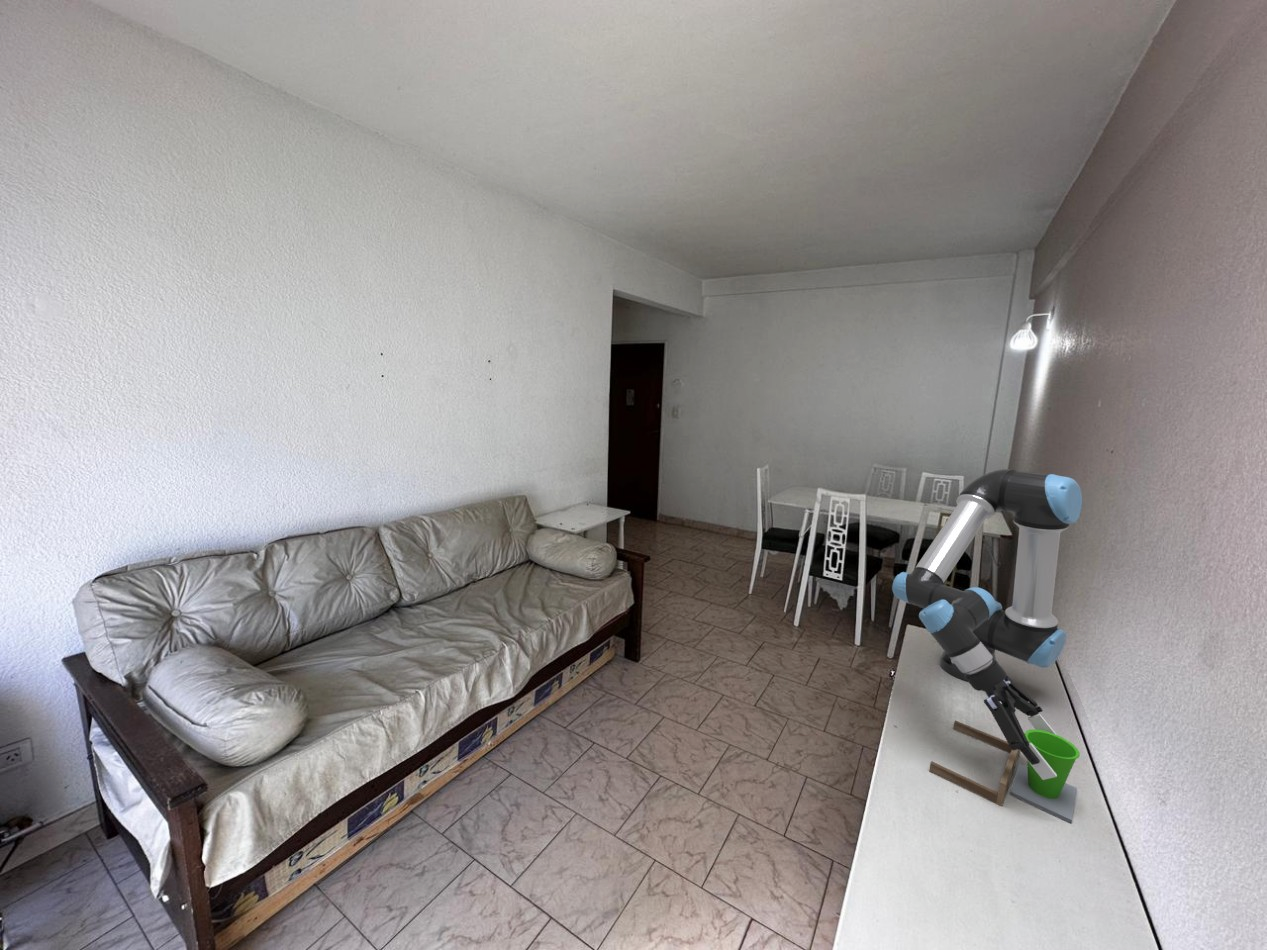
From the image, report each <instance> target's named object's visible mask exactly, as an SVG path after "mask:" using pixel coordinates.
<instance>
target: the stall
mask: <svg viewBox="0 0 1267 950" xmlns="http://www.w3.org/2000/svg"><path fill="white" fill-rule="evenodd" d="M952 728H953V730H954V731H956V732H959V733H961V734H963V735H966V736H968V737H970V736H971V738H973V739H976V740H978V741H980V742H983V743H985V744H987V745H990V746H992V747H994V748H996V749H999V750H1002V751H1004V752H1006V753H1009V756H1008V759H1007V761H1006V765H1005V767H1004V770H1003V773H1002V776H1001V778H1000V781H999V784H998V785H999V786H998V790H997V791H996V790H994V789H992V788H990V787H987V786H986V785H984V784H981V783H979V782H977V781H974V780H973V779H972V778H969V777H966V776H964V775H962V774H960V773H957V772H956V771H954V770H951V769H949V768H947V767H945V766H943V765H941V764H938V763H936V762H934V761H932V760H931V761H930V763H929V772H930V773H932V774H934V775H936V776H939V777H941V778H943V779H945V780H947V781H948V782H951V783H953V784H955V785H956V786H959V787H961V788H963V789H964V790H966V791H967V790H968V791H969V792H971V793H973V794H976V795H977V796H979V797H982V798H983V799H986V800H988V801H989V802H992V803H994V804H995V805H996V804H997V805H998V806H999V807H1000V806H1001V807H1003V806H1004V803H1005V799H1006V796H1007V794H1008V791H1009V788H1010V786H1011V782H1012V779H1013V776H1014V773H1015V770H1016V767H1017V766H1018V762H1019V759H1020V755H1021V752H1020V750H1019V749H1017V750H1012V749H1011V747H1010V745H1009V744H1008V742H1007V740H1004V739H1002V738H999V737H997V736H995V735H992V734H990V733H987V732H986V731H982V730H980V729H977V728H975V727H972V726H970V725H967V724H965V723H962V722H960V721H957V720H954V722H953V727H952ZM1017 742H1018V741H1017Z"/></svg>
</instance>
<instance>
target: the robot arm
mask: <svg viewBox="0 0 1267 950" xmlns="http://www.w3.org/2000/svg"><path fill="white" fill-rule="evenodd" d="M955 502H956V507H955V508H954V510H953V511H952V513H950V515H949V516H948V519H947V520H946V522H945V523H944V524H943V526H942V527H941V529H940V531H939V532H938V533H937V534H936V537H935V538H934V539H933V541H932V542H931V544H930V545H929V547H928V548H927V550H926V551H925V553H924V554H923V556H922V557H921V559H920V560H919V562H918V563H917V565H916V566H915V567H914V568H913V570H912V571H911V573H910V572H905V571H902V572H900V573H899V574H897V575H896V576H895V577H894V579H893V582H892V586H891V587H892V588H891V590H892V593H893V595H894V597H896V598H897V599H899V600H900V601H902V602H905V603H907V604H909V605H913V606H916V607H918V608H922V609H921V610H920V612H919V614H918V618H919V620H920V621H921V623H922V624H923V626H924V627H925V628H926V631H927V632H928V633H930V635H931V636H932V637H933V638H934V640H935V641H936V642H937V644H938V645H939V646H940V647H941V649H942V650H943V652H942V654H941V656H940V660H939V662H940V663H939V665H940V667H941V668H942V669H943V670H944V671H945V672H946V673H948V674H950V675H952V676H953V677H955V678H957V679H960V680H961V681H965V682H968V683H969V684H970V686H972V689H974V690H975V691H978V692H981V691H982V692H985V695H986V696H987V697H988V698H986V699H983V703H984V704H985V706H986V707H987V709H988V710H989V711H990V713H991V715H992V717H993V718H994V720H995V722H996V724H997V726H998V727H999V729H1000V731H1001V733H1002V734H1003V736H1004V738H1005V741H1007V742H1008V744H1009V745H1010V747H1011V749H1012V750H1017V749H1019V750H1020V754H1022V755H1023V756H1024V758H1025V759H1026V761H1027V760H1028V762H1029V763H1030V764H1031V766H1032V767H1033V768H1034V769H1035V771H1036V772H1037V773H1038V775H1039V776H1040V777H1041V778H1042V780H1045V779H1050V778H1054V777H1057V774H1056V773H1055V772H1054V771H1053V769H1052V768H1051V767H1050V766H1049V764H1048V763H1047V762H1046V760H1045V759H1044V758H1043V757H1042V755H1041V754H1040V753H1039V752H1038V750H1037V749H1036V748H1035V747H1034V745H1033V744H1032V743H1029V742H1028V740H1027V738H1026V736H1025V732H1024V731H1023V728H1022V726H1021V723H1020V722H1019V718H1018V717H1017V714H1016V709H1017V710H1018V711H1020V712H1021V713H1023V714H1024V715H1026V716H1028V717H1027V720H1028V722H1030V724H1031V725H1032V726H1033V728H1034V729H1035V730H1043V731H1047V732H1050V733H1053V734H1056V735H1058V734H1057V733H1056V731H1055V730H1054V729H1053V728H1052V726H1051V725H1050V723H1049V722H1047V720H1046V719H1045V718H1044V717H1043V715H1041V713H1042V712H1043V711H1044V710H1043V708H1042V707H1041V706H1040V705H1038V703H1037V702H1036V701H1035V700H1034V699H1033V698H1032V697H1030V696H1029V695H1028V694H1027V693H1026V692H1025V691H1024V690H1023V689H1021V688H1020V686H1018V685H1017V684H1016V683H1015V682H1014V681H1013V680H1012V679H1011V678H1010V677H1009V676H1008V675H1007V673H1006V671H1005V670H1004V669H1003V667H1002V666H1001V665H1000V664H999V662H998V661H997V659H996V658H997V657H996V651H998V652H1000V653H1003V654H1005V655H1008V656H1010V657H1013V658H1016V659H1018V660H1021V661H1023V662H1025V663H1027V664H1030V665H1034V666H1037V667H1039V668H1045V669H1046V668H1049V667H1051V666H1053V664H1054V663H1055V662H1056V661H1057V660H1058V658H1059V656H1060V655H1061V653H1062V651H1063V649H1064V647H1065V645H1066V642H1067V641H1066V640H1067V633H1066V632H1065V630H1063V629H1061V628H1058V625H1059V621H1058V618H1057V617H1056V616H1055V615H1054V614H1053V603H1054V596H1055V595H1054V593H1055V585H1056V576H1057V568H1058V567H1057V566H1058V558H1059V549H1060V538H1061V533H1062V532H1064V531H1066V530H1068V529H1069V527H1070V524H1074V523H1076V522H1077V521H1078V520H1079V518H1080V515H1081V511H1082V507H1083V494H1082V489H1081V487H1080V485H1079V483H1077V481H1076V480H1075V479H1073V478H1071V477H1070V476H1069V477H1068V476H1064V475H1063V476H1061V475H1057V474H1054V473H1044V472H1034V471H1033V472H1032V471H1024V470H1016V469H1010V468H1009V469H1007V468H1003V469H996V470H993V471H990V472H988V473H985V474H983V475H980V476H979V477H977V478H976V479H974V480H973V481H971V482H970V483H969V484H968V485H967V486H966V487H964V489H962V491H961V492H960V494H959V495H958V496H957V498H956V500H955ZM999 511H1002V512H1007V513H1012V514H1013V518H1012V519H1013V520H1012V522H1013V523H1014V524H1015V525H1016V526H1017V527H1018V528H1019V529H1018V530H1019V531H1018V541H1017V552H1016V562H1015V563H1016V564H1015V574H1014V582H1013V583H1014V584H1013V595H1012V605H1011V606H1009V607H1007V608H1006V609H1005V610H1003V606H1002V604H1001V602H998V600H995V598H994V597H993V595H992V594H991V593H990V592H989V591H987V590H986V589H983V588H981V587H978V586H977V587H969V588H967V589H964V590H960V589H958V588H955V587H951V586H948V585H945V584H944V583H945V581H946V580H947V579H948V577H949V576H950V574H951V573H952V571H953V570H954V568H955V566H956V565H957V563H958V562H959V560H960V559H961V557H962V556H963V555H964V553H965V551H966V550H967V549H968V547H969V545H971V542H972V541H973V539H974V538H975V537H976V535H977V534H978V532H979V530H980V528H981V527H982V525H983V524H984V522H985V521H986V520H988V519H991V518H993V517H994V515H995V514H996V513H997V512H999ZM1017 741H1018V742H1017Z"/></svg>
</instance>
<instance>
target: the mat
mask: <svg viewBox="0 0 1267 950" xmlns="http://www.w3.org/2000/svg"><path fill="white" fill-rule="evenodd" d="M1017 766H1018V767H1017V769H1016V771H1015V776H1014V779H1013V782H1012V785H1011V788H1010V789H1009V795H1010V796H1011V797H1013V798H1016V799H1018V800H1020V801H1022V802H1024V803H1026V804H1029V805H1030V806H1032V807H1035V808H1037V809H1039V810H1040V811H1043V812H1046V813H1048V814H1050V815H1052V816H1054V817H1057V818H1058V819H1061V821H1062V820H1063V821H1064V822H1066V823H1069V824H1072V823H1073V817H1074V815H1073V814H1074V812H1075V811H1074V810H1075V804H1076V798H1077V797H1076V796H1077V793H1078V792H1077V791H1078V787H1076V786H1074V785H1071V784H1069V783H1066V782H1065V784H1064V786H1063V789H1062V791H1061V793H1060V795H1059V796H1058V797H1057V798H1054V799H1052V798H1047V797H1044V796H1041V795H1039V794H1038V793H1036V792H1035V791H1033V790H1032V789H1031V787H1030V786H1029V783H1028V767H1027V766H1026V765H1024V764H1022V763H1019V764H1018V765H1017Z"/></svg>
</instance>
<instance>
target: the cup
mask: <svg viewBox="0 0 1267 950" xmlns="http://www.w3.org/2000/svg"><path fill="white" fill-rule="evenodd" d="M1024 734H1025V736H1026V738H1027V740H1028V742H1029V743H1032V744H1033V745H1034V747H1035V748H1036V749H1037V750H1038V752H1039V753H1040V754H1041V755H1042V757H1043V758H1044V759H1045V760H1046V762H1047V763H1048V764H1049V766H1050V767H1051V768H1052V769H1053V771H1054V772H1055V773H1056V774H1057V777H1054V778H1050V779H1045V780H1042V778H1041V777H1040V776H1039V775H1038V773H1037V772H1036V771H1035V769H1034V768H1033V767H1032V766H1031V764H1030V763H1029V762H1028V760H1027V759H1026V764H1027V767H1028V783H1029V786H1030V787H1031V789H1032V790H1033V791H1035V792H1036V793H1038V794H1039V795H1041V796H1044V797H1047V798H1052V799H1054V798H1057V797H1058V796H1059V795H1060V793H1061V791H1062V789H1063V786H1064V784H1065V783H1066V781H1067V780H1068V777H1069V775H1070V773H1071V771H1072V769H1073V767H1074V764H1075V763H1076V760H1077V759H1079V758H1080V756H1081V755H1080V751H1079V748H1078V747H1076V746H1075V744H1073V743H1072V742H1071V741H1069V740H1067V739H1066V738H1064V737H1062V736H1060V735H1058V734H1057V733H1056V734H1057V735H1056V734H1053V733H1050V732H1047V731H1043V730H1036V729H1035V728H1034V729H1028V730H1026V731H1025V732H1024Z"/></svg>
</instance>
